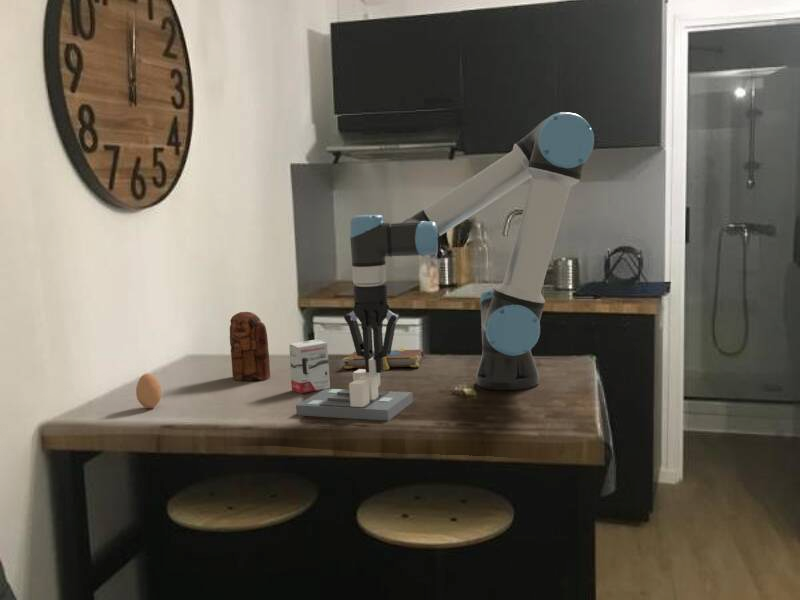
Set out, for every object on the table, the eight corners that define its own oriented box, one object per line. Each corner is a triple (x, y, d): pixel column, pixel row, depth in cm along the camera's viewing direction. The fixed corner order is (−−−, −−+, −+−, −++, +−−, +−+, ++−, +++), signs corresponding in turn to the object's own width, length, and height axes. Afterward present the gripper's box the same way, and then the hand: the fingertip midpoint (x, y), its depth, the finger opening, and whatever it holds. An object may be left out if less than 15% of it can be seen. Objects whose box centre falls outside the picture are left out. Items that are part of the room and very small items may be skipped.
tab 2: (369, 402, 186) (368, 380, 185) (363, 407, 182) (361, 384, 182) (357, 401, 187) (355, 379, 186) (350, 406, 184) (349, 383, 183)
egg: (142, 405, 204) (139, 371, 203) (166, 404, 204) (162, 370, 203) (134, 411, 199) (130, 377, 198) (158, 410, 199) (155, 375, 197)
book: (340, 363, 246) (339, 346, 245) (425, 361, 242) (424, 344, 241) (327, 373, 230) (326, 355, 229) (418, 371, 226) (417, 353, 225)
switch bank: (413, 402, 194) (412, 389, 193) (388, 420, 180) (387, 406, 180) (326, 397, 202) (325, 385, 201) (296, 415, 188) (295, 402, 188)
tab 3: (378, 396, 190) (377, 375, 190) (372, 400, 187) (370, 378, 186) (366, 396, 191) (365, 374, 191) (359, 400, 188) (358, 378, 187)
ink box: (300, 394, 207) (297, 346, 205) (291, 390, 211) (288, 343, 209) (331, 387, 212) (328, 341, 210) (321, 384, 216) (318, 338, 214)
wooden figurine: (225, 381, 225) (219, 314, 223) (236, 375, 231) (231, 310, 229) (265, 381, 222) (259, 314, 219) (275, 376, 228) (270, 310, 225)
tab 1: (372, 390, 196) (371, 369, 196) (366, 394, 193) (364, 373, 192) (360, 389, 197) (359, 369, 197) (354, 393, 194) (352, 372, 193)
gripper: (402, 281, 191) (407, 383, 195) (350, 281, 196) (356, 381, 200) (390, 286, 185) (395, 391, 188) (336, 286, 189) (342, 389, 193)
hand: (375, 386), depth 194 cm, fingers closed
